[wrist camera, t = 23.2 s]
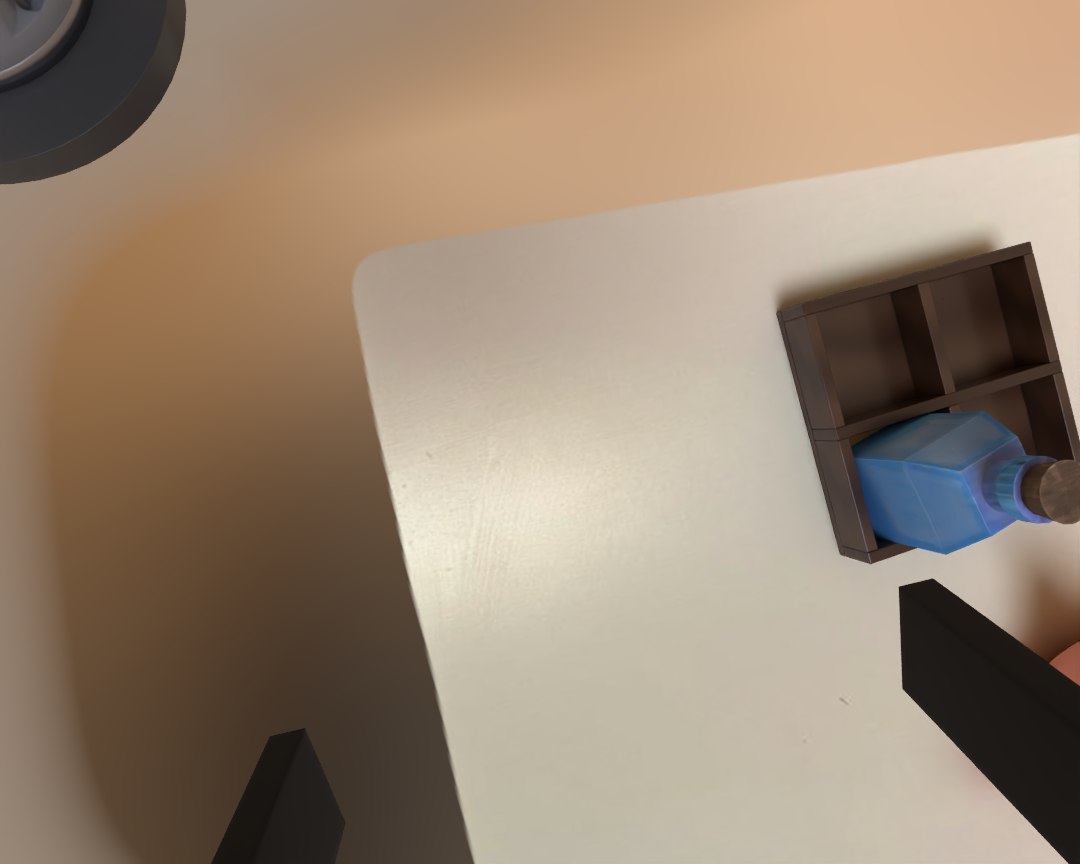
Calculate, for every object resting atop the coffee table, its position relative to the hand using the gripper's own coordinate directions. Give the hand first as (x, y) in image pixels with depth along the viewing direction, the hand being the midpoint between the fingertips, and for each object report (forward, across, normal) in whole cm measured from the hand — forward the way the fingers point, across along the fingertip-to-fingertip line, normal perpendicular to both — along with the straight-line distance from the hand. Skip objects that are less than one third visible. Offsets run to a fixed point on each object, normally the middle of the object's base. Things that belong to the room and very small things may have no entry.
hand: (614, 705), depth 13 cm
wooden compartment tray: (+28, +27, -6) cm, 39 cm away
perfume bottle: (+26, +23, -10) cm, 36 cm away
